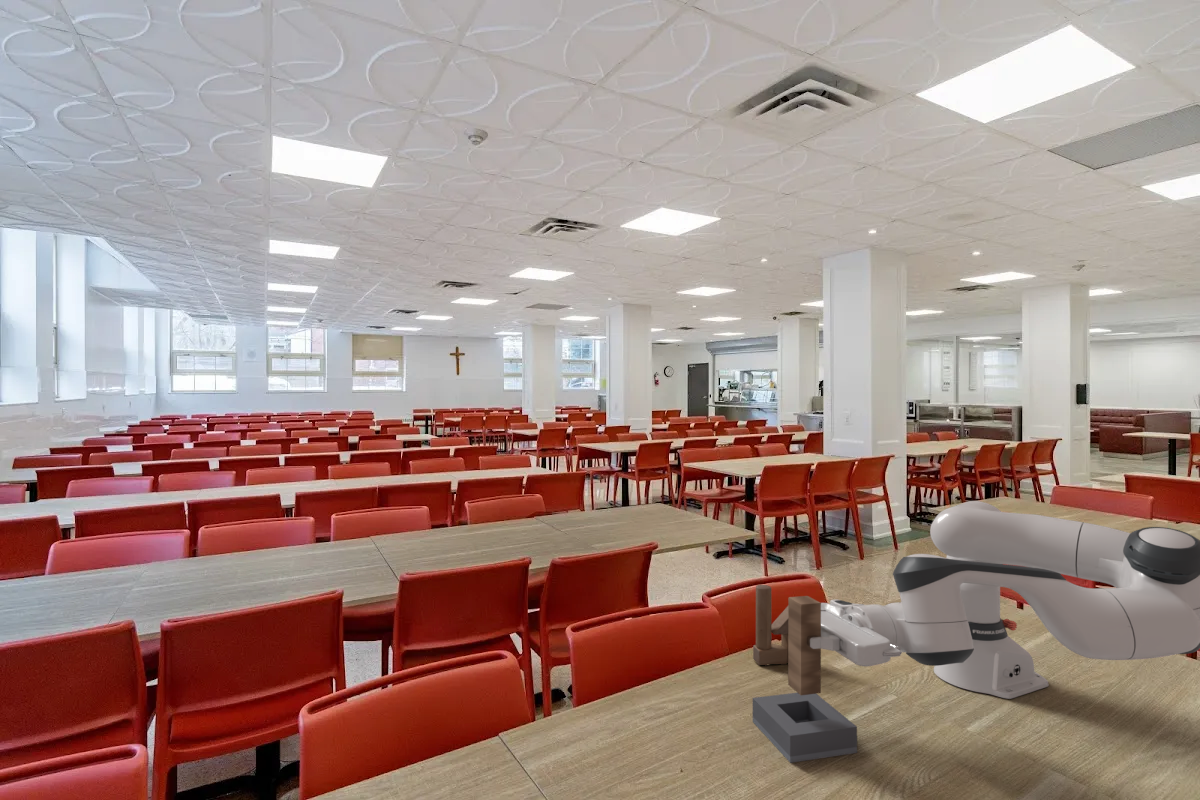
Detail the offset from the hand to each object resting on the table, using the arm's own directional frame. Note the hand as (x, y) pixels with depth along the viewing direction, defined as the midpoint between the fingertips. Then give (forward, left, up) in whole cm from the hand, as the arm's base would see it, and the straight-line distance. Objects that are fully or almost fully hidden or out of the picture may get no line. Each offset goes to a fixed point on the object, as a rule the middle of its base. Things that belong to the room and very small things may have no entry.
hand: (800, 636), depth 102 cm
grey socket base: (-1, -1, -19) cm, 19 cm away
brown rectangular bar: (-1, 0, -10) cm, 10 cm away
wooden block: (-13, -30, -19) cm, 38 cm away
